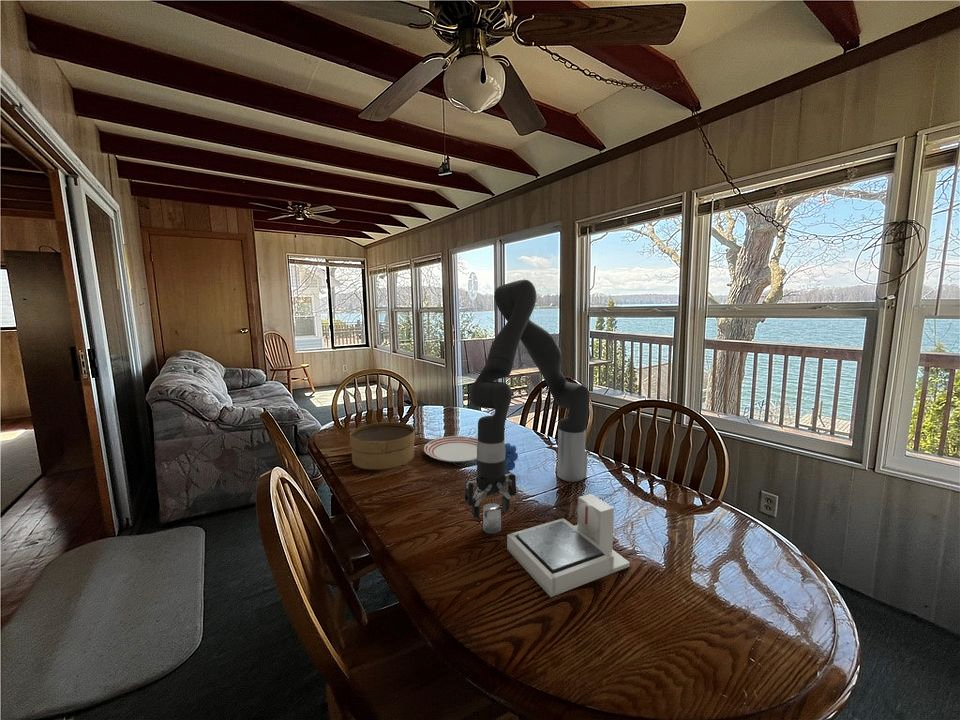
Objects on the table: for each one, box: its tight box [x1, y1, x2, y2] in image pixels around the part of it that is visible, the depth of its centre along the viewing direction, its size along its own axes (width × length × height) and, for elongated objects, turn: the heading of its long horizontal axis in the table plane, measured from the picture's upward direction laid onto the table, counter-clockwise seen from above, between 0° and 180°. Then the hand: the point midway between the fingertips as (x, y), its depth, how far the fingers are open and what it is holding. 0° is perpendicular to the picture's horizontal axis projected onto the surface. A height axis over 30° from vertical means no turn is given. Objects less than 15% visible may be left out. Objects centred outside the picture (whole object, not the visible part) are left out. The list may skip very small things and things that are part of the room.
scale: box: [506, 493, 631, 598], centre depth 94 cm, size 22×18×12 cm
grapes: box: [505, 442, 519, 474], centre depth 139 cm, size 12×7×12 cm, turn 127°
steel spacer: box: [482, 502, 502, 535], centre depth 107 cm, size 5×5×6 cm
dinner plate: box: [423, 435, 478, 464], centre depth 161 cm, size 27×27×3 cm
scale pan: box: [517, 521, 603, 574], centre depth 93 cm, size 14×15×1 cm
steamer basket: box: [349, 421, 416, 470], centre depth 158 cm, size 25×25×11 cm
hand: (490, 514), depth 106 cm, fingers open, 8 cm apart
